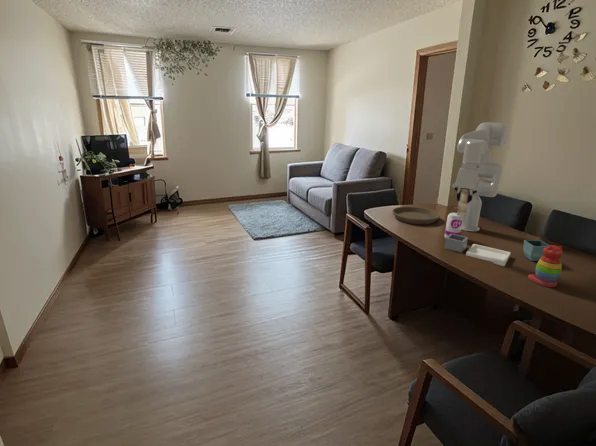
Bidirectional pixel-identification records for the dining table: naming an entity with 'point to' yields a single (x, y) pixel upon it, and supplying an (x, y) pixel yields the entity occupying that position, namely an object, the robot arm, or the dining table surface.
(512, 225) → the dining table surface
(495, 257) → the white tray
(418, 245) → the dining table surface
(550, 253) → the stacking bear
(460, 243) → the grey open box
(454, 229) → the supplement can
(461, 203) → the birch peg
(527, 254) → the flower pot
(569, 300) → the dining table surface
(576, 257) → the dining table surface
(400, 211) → the plant saucer
